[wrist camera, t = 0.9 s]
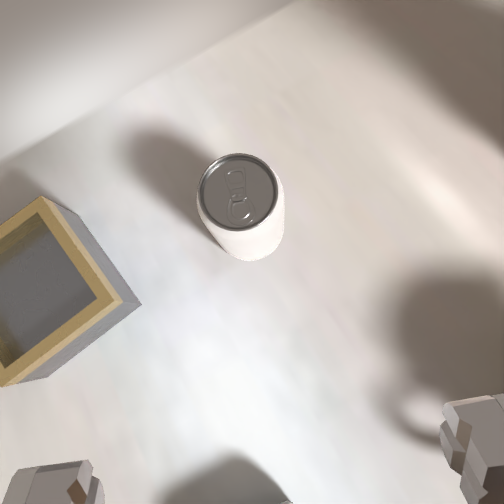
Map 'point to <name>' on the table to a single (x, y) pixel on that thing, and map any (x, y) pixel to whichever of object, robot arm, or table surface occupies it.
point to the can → (242, 205)
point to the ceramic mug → (286, 502)
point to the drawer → (53, 291)
